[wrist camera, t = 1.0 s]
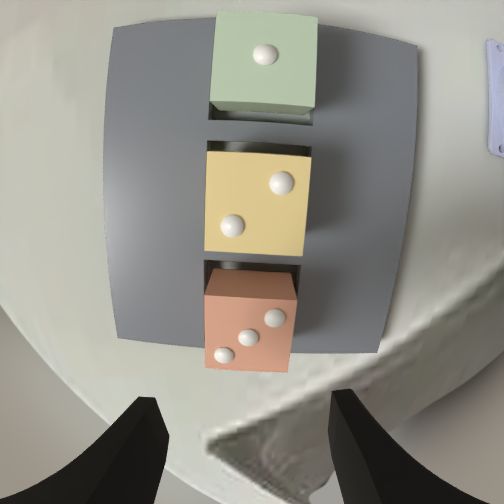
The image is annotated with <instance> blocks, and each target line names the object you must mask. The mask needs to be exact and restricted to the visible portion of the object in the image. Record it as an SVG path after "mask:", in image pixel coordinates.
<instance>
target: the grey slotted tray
mask: <svg viewBox="0 0 504 504" xmlns="http://www.w3.org/2000/svg"><path fill="white" fill-rule="evenodd" d="M215 25H216V18H202V19H183V20H170V21H159V22H150V23H142V24H134V25H128V26H121V27H115V28H114V29H113V36H112V43H111V50H110V58H109V67H108V77H107V88H106V101H105V117H104V143H103V191H104V218H105V235H106V248H107V260H108V270H109V279H110V288H111V296H112V304H113V311H114V318H115V324H116V330H117V336H118V338H122V339H129V340H136V341H143V342H151V343H160V344H168V345H177V346H187V347H198V348H205V324H204V294H205V291H206V289H207V260H220V261H237V262H255V263H272V264H290V265H298V267H297V276H296V285H295V293H296V297H297V307H296V315H295V322H294V330H293V337H292V344H291V351H290V353H377V351H378V348H379V344H380V341H381V337H382V334H383V330H384V326H385V322H386V319H387V315H388V311H389V307H390V302H391V298H392V294H393V290H394V285H395V280H396V276H397V271H398V266H399V261H400V256H401V251H402V245H403V239H404V233H405V227H406V221H407V214H408V207H409V200H410V192H411V184H412V175H413V165H414V154H415V141H416V124H417V96H418V64H417V46H416V45H413V44H409V43H406V42H402V41H398V40H395V39H391V38H387V37H383V36H378V35H374V34H370V33H365V32H360V31H355V30H350V29H344V28H339V27H333V26H326V25H319V24H318V25H317V63H316V88H315V107H314V108H313V109H311V110H310V126H307V125H296V124H285V123H271V122H255V121H232V120H212V105H213V104H212V103H211V102H210V88H211V74H212V60H213V48H214V36H215ZM211 141H233V142H254V143H271V144H285V145H297V146H308V156H307V157H311V169H310V182H309V194H308V205H307V216H306V227H305V237H304V246H303V256H287V255H269V254H252V253H234V252H217V251H204V238H205V192H206V163H207V151H210V142H211Z"/></svg>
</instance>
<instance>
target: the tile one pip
mask: <svg viewBox="0 0 504 504" xmlns="http://www.w3.org/2000/svg"><path fill="white" fill-rule="evenodd" d="M317 25H318V17H313V16H305V15H295V14H285V13H272V12H253V11H217V15H216V25H215V36H214V48H213V60H212V74H211V88H210V102H211V103H212V104H213V105H214V106H215V107H216V108H217V109H218V110H228V111H253V112H270V113H284V114H295V115H304V114H306V113H307V112H308V111H310V110H311V109H313V108H314V107H315V88H316V63H317Z"/></svg>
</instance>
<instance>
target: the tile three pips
mask: <svg viewBox="0 0 504 504" xmlns="http://www.w3.org/2000/svg"><path fill="white" fill-rule="evenodd" d="M296 307H297V297H296V293H295V289H294V285H293V281H292V277H291V273H282V272H264V271H247V270H230V269H213V271H212V274H211V277H210V280H209V283H208V286H207V289H206V291H205V294H204V324H205V368H213V369H226V370H241V371H260V372H288V365H289V358H290V351H291V344H292V337H293V330H294V322H295V315H296Z"/></svg>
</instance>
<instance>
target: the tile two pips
mask: <svg viewBox="0 0 504 504" xmlns="http://www.w3.org/2000/svg"><path fill="white" fill-rule="evenodd" d="M310 169H311V157H306V156H299V155H287V154H273V153H257V152H237V151H207V163H206V192H205V238H204V251H217V252H234V253H252V254H269V255H287V256H303V246H304V237H305V227H306V216H307V205H308V194H309V182H310Z"/></svg>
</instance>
